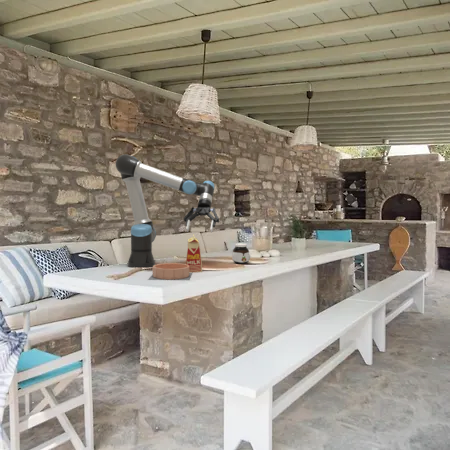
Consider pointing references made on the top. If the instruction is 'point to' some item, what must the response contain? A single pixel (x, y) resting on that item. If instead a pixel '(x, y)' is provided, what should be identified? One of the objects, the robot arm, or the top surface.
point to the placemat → (175, 279)
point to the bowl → (171, 271)
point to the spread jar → (240, 254)
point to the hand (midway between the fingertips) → (199, 230)
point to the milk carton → (194, 255)
